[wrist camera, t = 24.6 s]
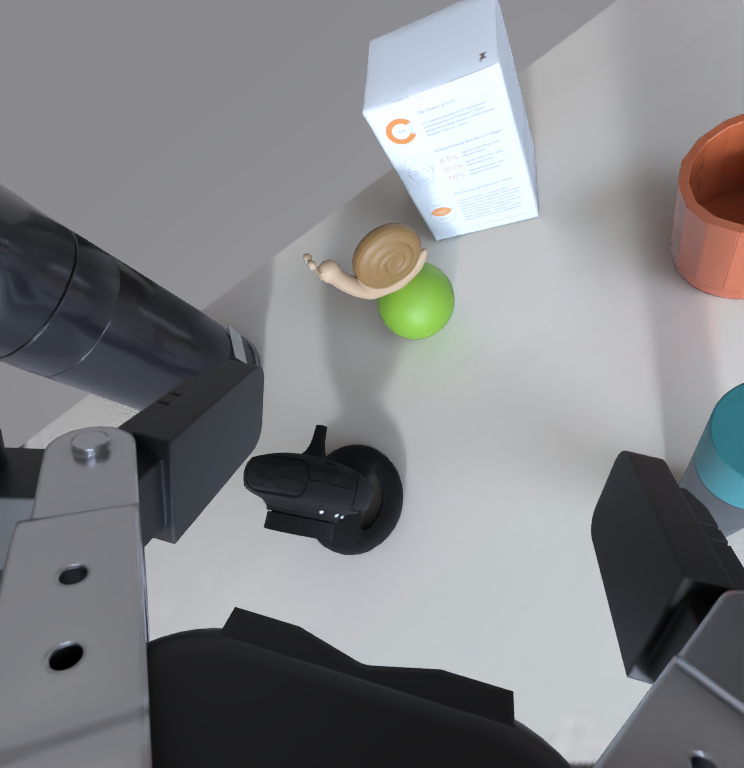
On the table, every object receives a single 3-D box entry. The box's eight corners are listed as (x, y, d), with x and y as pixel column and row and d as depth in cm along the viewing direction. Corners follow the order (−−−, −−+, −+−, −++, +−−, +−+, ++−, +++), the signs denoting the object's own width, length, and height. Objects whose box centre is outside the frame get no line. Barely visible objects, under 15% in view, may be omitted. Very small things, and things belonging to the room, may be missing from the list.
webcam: (299, 544, 36) (198, 531, 28) (321, 443, 38) (234, 403, 30) (396, 566, 32) (314, 559, 24) (415, 453, 34) (345, 410, 26)
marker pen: (667, 529, 26) (701, 473, 13) (676, 475, 27) (718, 369, 14) (735, 548, 25) (853, 505, 12) (744, 489, 26) (864, 386, 12)
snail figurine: (374, 322, 40) (287, 234, 30) (440, 273, 39) (373, 163, 29) (405, 372, 37) (320, 293, 27) (477, 320, 36) (417, 217, 26)
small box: (535, 151, 38) (497, -20, 28) (540, 218, 36) (500, 62, 25) (435, 180, 42) (367, 38, 31) (434, 243, 40) (359, 114, 29)
